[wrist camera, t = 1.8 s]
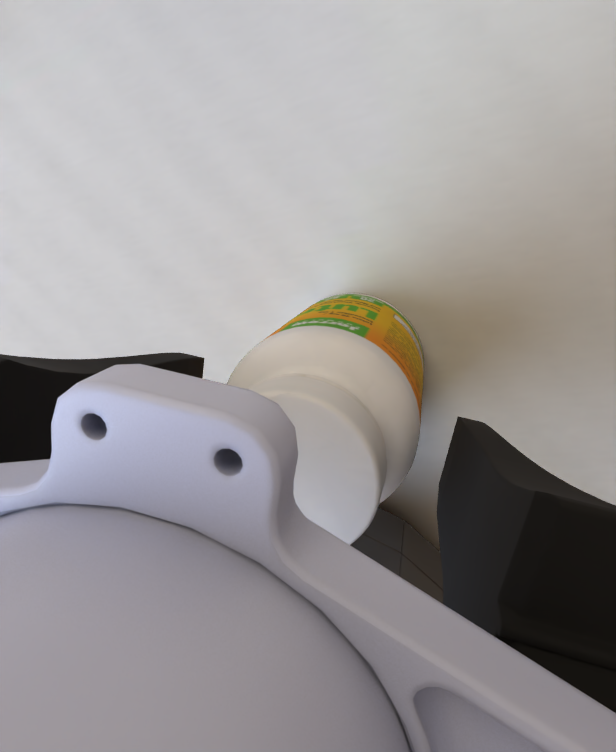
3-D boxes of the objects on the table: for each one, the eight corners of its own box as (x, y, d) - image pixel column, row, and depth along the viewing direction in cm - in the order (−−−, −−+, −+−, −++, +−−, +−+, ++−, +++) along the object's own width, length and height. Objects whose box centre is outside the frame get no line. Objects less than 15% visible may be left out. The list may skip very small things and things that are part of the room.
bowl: (539, 631, 21) (568, 746, 17) (336, 757, 26) (315, 873, 22) (307, 423, 21) (271, 482, 16) (145, 591, 26) (82, 672, 21)
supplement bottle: (396, 269, 18) (362, 320, 9) (443, 403, 19) (452, 563, 10) (266, 318, 20) (131, 402, 11) (316, 439, 21) (229, 604, 12)
